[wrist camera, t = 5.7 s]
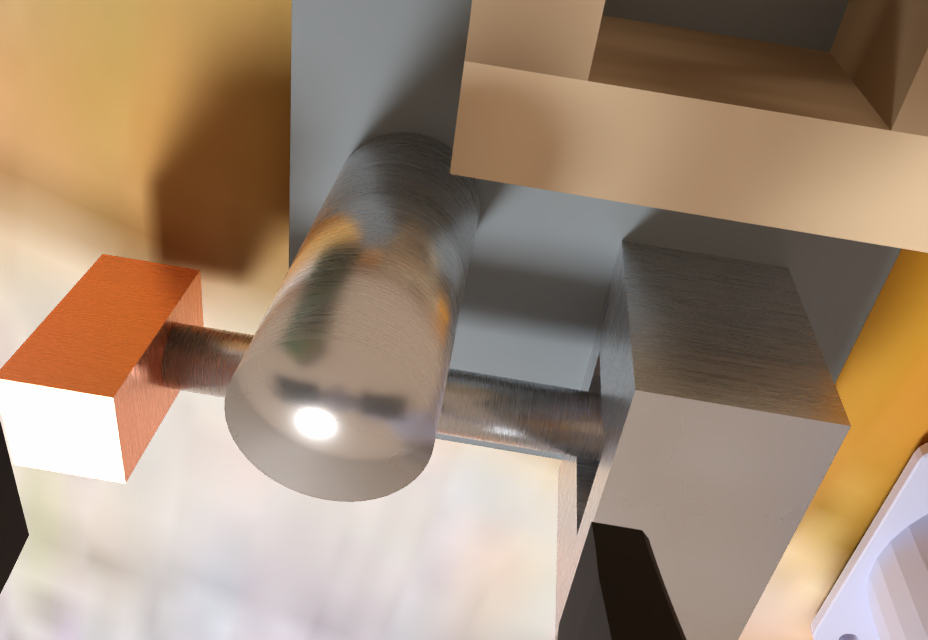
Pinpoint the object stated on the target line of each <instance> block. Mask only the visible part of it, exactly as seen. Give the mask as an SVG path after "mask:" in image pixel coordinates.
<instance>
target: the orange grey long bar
mask: <svg viewBox="0 0 928 640" xmlns="http://www.w3.org/2000/svg"><path fill="white" fill-rule="evenodd" d="M253 337H254V335H249V334H243V333H237V332H231V331H225V330H219V329H213V328H207V327H203V310H202V293H201V276H200V270H195V269H189V268H183V267H177V266H171V265H165V264H159V263H153V262H147V261H141V260H135V259H129V258H123V257H117V256H111V255H105V254H102V255H101V257H100V258H99V259H98V260H97V261H96V262H95V263H94V264H93V266H92V267H91V268H90V269H89V270H88V271H87V272H86V273H85V275H84V276H83V277H82V278H81V279H80V280H79V281H78V282H77V284H76V285H75V286H74V287H73V288H72V289H71V290H70V292H69V293H68V294H67V295H66V296H65V297H64V298H63V299H62V301H61V302H60V303H59V304H58V305H57V306H56V307H55V308H54V310H53V311H52V312H51V313H50V314H49V315H48V316H47V317H46V319H45V320H44V321H43V322H42V323H41V324H40V325H39V326H38V328H37V329H36V330H35V331H34V332H33V333H32V334H31V335H30V337H29V338H28V339H27V340H26V341H25V342H24V343H23V344H22V346H21V347H20V348H19V349H18V350H17V351H16V352H15V353H14V355H13V356H12V357H11V358H10V359H9V360H8V361H7V363H6V364H5V365H4V366H3V367H2V368H1V369H0V408H1V412H2V416H3V420H4V425H5V429H6V433H7V437H8V441H9V445H10V449H11V453H12V457H13V461H14V465H20V466H26V467H32V468H38V469H44V470H50V471H56V472H62V473H67V474H73V475H79V476H85V477H91V478H97V479H103V480H109V481H115V482H120V483H126V481H127V480H128V478H129V476H130V475H131V473H132V471H133V469H134V468H135V466H136V464H137V463H138V461H139V459H140V458H141V456H142V454H143V453H144V451H145V449H146V447H147V446H148V444H149V442H150V441H151V439H152V437H153V436H154V434H155V432H156V430H157V429H158V427H159V425H160V424H161V422H162V420H163V419H164V417H165V415H166V414H167V412H168V410H169V408H170V407H171V405H172V403H173V402H174V400H175V398H176V397H177V395H178V393H179V391H180V390H183V391H188V392H194V393H200V394H206V395H212V396H218V397H224V398H225V396H226V392H227V388H228V386H229V383H230V381H231V379H232V377H233V375H234V373H235V371H236V369H237V367H238V365H239V364H240V362H241V360H242V358H243V356H244V354H245V352H246V350H247V348H248V346H249V345H250V343H251V341H252V339H253ZM436 433H438V434H444V435H450V436H456V437H462V438H467V439H473V440H479V441H485V442H491V443H497V444H503V445H509V446H515V447H521V448H527V449H533V450H539V451H545V452H551V453H556V454H562V455H568V456H574V457H580V458H586V459H592V460H598V461H600V459H601V456H602V453H603V450H604V449H603V425H602V401H601V393H595V392H589V391H583V390H577V389H571V388H565V387H559V386H553V385H547V384H541V383H535V382H529V381H523V380H517V379H511V378H505V377H499V376H493V375H487V374H481V373H475V372H469V371H464V370H458V369H452V368H449V371H448V376H447V381H446V386H445V391H444V396H443V401H442V406H441V412H440V417H439V422H438V427H437V432H436Z"/></svg>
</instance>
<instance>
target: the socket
mask: <svg viewBox="0 0 928 640" xmlns="http://www.w3.org/2000/svg"><path fill="white" fill-rule="evenodd" d="M604 5H605V0H472V7H471V15H470V22H469V30H468V38H467V45H466V53H465V61H464V68H463V76H462V83H461V91H460V99H459V106H458V114H457V122H456V129H455V137H454V145H453V152H452V160H451V168H450V174H453V175H459V176H465V177H471V178H477V179H484V180H490V181H496V182H502V183H508V184H514V185H520V186H526V187H532V188H538V189H544V190H550V191H556V192H562V193H568V194H574V195H581V196H587V197H593V198H599V199H605V200H611V201H617V202H623V203H629V204H635V205H641V206H647V207H653V208H659V209H665V210H671V211H678V212H684V213H690V214H696V215H702V216H708V217H714V218H720V219H726V220H732V221H738V222H744V223H750V224H756V225H762V226H768V227H775V228H781V229H787V230H793V231H799V232H805V233H811V234H817V235H823V236H829V237H835V238H841V239H847V240H853V241H859V242H865V243H871V244H878V245H884V246H890V247H896V248H902V249H908V250H914V251H920V252H926V253H928V0H849V3H848V5H847V8H846V10H845V13H844V16H843V18H842V21H841V24H840V26H839V29H838V32H837V34H836V37H835V39H834V42H833V45H832V47H831V50H830V52H826V51H820V50H814V49H808V48H802V47H795V46H789V45H783V44H777V43H771V42H765V41H759V40H752V39H746V38H740V37H734V36H728V35H722V34H715V33H709V32H703V31H697V30H691V29H685V28H679V27H672V26H666V25H660V24H654V23H648V22H642V21H635V20H629V19H623V18H617V17H611V16H605V15H602V14H603V9H604Z"/></svg>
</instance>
